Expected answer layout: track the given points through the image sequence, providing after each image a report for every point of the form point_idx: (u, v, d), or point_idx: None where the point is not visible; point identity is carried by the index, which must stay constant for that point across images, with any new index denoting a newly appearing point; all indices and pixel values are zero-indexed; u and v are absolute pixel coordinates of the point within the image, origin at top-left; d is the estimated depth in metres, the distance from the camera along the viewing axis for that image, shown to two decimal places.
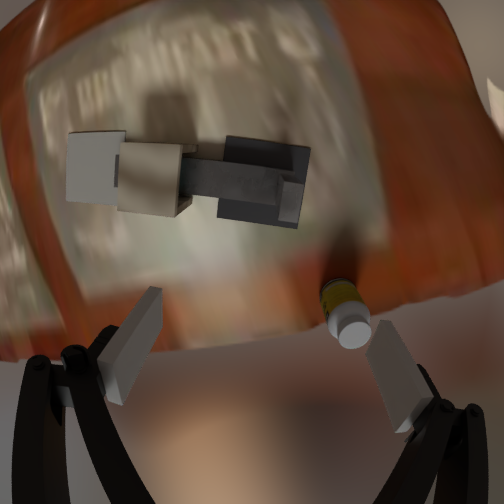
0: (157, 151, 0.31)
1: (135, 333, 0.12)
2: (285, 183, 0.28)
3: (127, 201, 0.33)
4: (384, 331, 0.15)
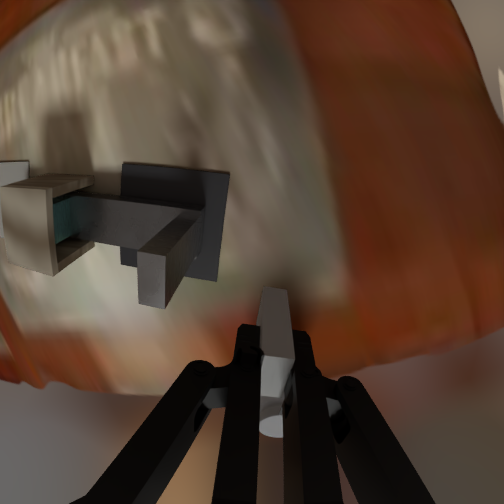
0: (27, 198, 0.21)
1: None
2: (139, 254, 0.17)
3: (13, 253, 0.23)
4: (274, 297, 0.17)
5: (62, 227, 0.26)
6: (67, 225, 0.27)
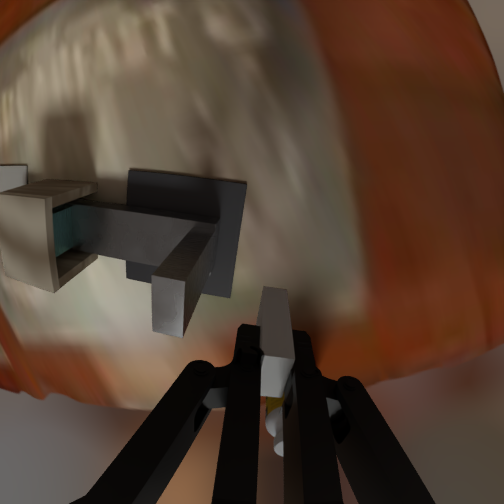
0: (24, 207, 0.19)
1: None
2: (153, 278, 0.15)
3: (10, 266, 0.21)
4: (275, 297, 0.17)
5: (63, 238, 0.24)
6: (68, 236, 0.25)
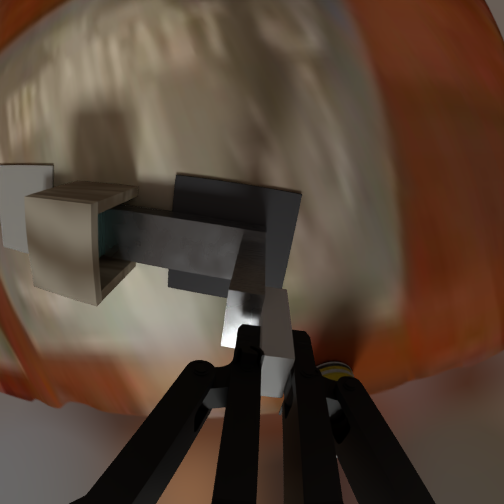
0: (64, 212, 0.19)
1: None
2: (230, 293, 0.16)
3: (42, 276, 0.21)
4: (274, 297, 0.17)
5: None
6: (101, 242, 0.25)
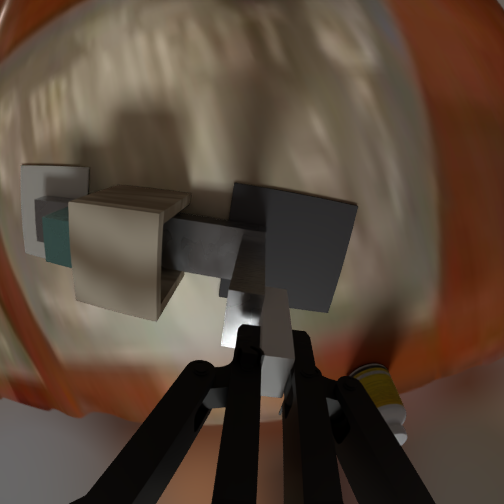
0: (122, 221, 0.19)
1: None
2: (230, 292, 0.16)
3: (88, 290, 0.21)
4: (274, 297, 0.17)
5: None
6: None
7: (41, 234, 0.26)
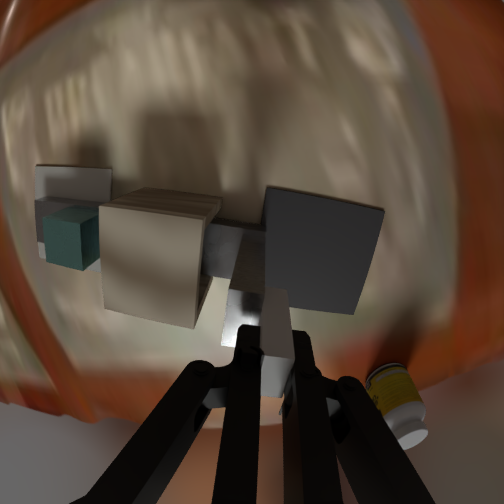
0: (161, 227, 0.19)
1: None
2: (230, 292, 0.16)
3: (118, 298, 0.21)
4: (274, 297, 0.17)
5: (96, 245, 0.24)
6: None
7: (42, 235, 0.26)
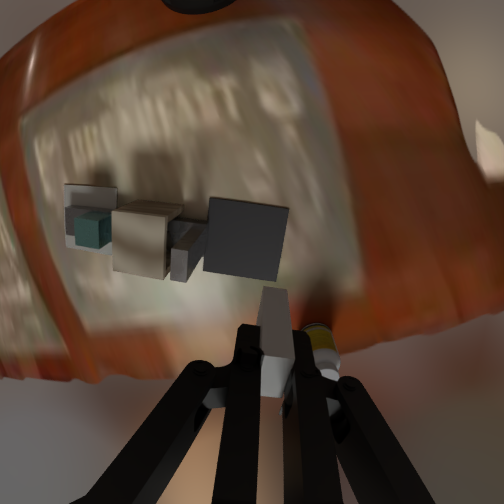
0: (144, 222, 0.35)
1: None
2: (172, 250, 0.32)
3: (121, 263, 0.37)
4: (274, 297, 0.17)
5: (107, 235, 0.41)
6: (110, 233, 0.42)
7: (69, 230, 0.43)
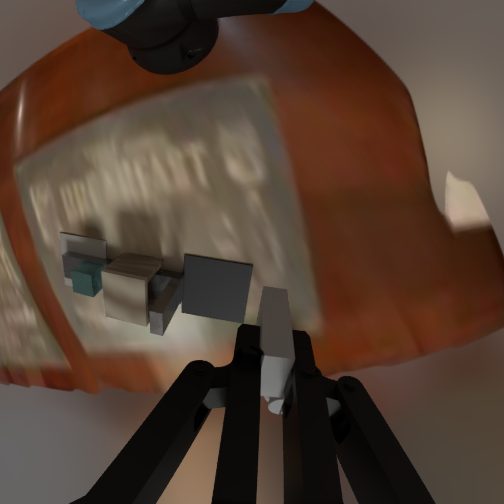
0: (128, 282, 0.42)
1: None
2: (150, 312, 0.38)
3: (112, 311, 0.44)
4: (274, 297, 0.17)
5: (99, 283, 0.47)
6: None
7: (67, 274, 0.49)
